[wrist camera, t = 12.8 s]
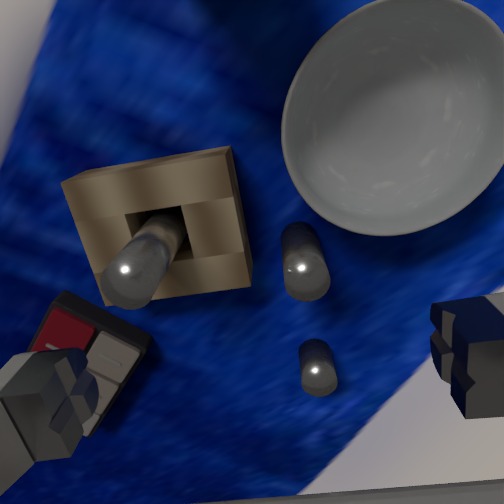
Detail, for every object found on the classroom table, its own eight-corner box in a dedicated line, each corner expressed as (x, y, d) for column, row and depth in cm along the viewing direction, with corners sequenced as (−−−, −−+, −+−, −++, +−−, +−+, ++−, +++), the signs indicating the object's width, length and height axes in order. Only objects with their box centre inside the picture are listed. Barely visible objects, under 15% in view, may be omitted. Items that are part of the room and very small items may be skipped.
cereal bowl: (421, -42, 30) (463, -77, 23) (506, 141, 35) (561, 155, 28) (241, 97, 34) (235, 101, 28) (340, 243, 39) (354, 274, 33)
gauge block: (230, 145, 36) (224, 154, 31) (252, 263, 40) (250, 286, 36) (86, 170, 37) (60, 182, 33) (123, 281, 42) (105, 306, 37)
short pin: (328, 337, 44) (335, 366, 39) (331, 363, 45) (339, 394, 40) (296, 340, 44) (299, 370, 39) (300, 366, 45) (304, 398, 41)
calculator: (146, 353, 41) (87, 444, 46) (156, 331, 45) (101, 417, 50) (48, 303, 39) (-3, 403, 44) (67, 284, 43) (19, 378, 48)
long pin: (187, 198, 38) (145, 257, 25) (195, 233, 39) (160, 305, 26) (151, 204, 38) (92, 265, 25) (161, 238, 40) (109, 312, 27)
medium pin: (315, 219, 38) (329, 259, 30) (318, 252, 40) (331, 299, 32) (279, 223, 39) (282, 263, 30) (282, 256, 40) (286, 303, 32)
